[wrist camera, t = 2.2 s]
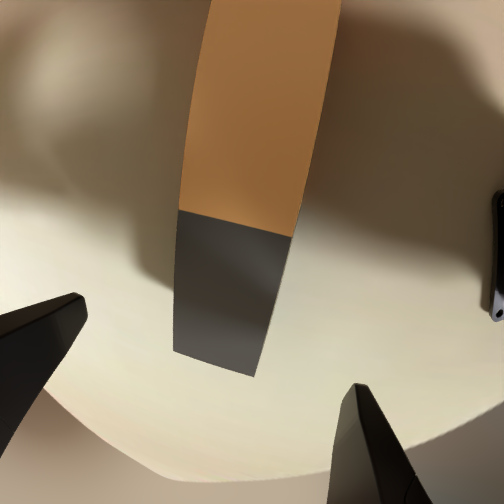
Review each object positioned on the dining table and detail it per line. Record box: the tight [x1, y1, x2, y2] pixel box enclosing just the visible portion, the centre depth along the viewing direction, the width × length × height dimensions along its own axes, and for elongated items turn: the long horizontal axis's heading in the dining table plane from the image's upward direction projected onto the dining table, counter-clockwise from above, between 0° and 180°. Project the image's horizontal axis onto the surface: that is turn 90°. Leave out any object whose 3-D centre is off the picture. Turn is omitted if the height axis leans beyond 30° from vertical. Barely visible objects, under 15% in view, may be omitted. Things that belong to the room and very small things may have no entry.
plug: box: [173, 0, 342, 377], centre depth 9 cm, size 17×3×3 cm, turn 170°
